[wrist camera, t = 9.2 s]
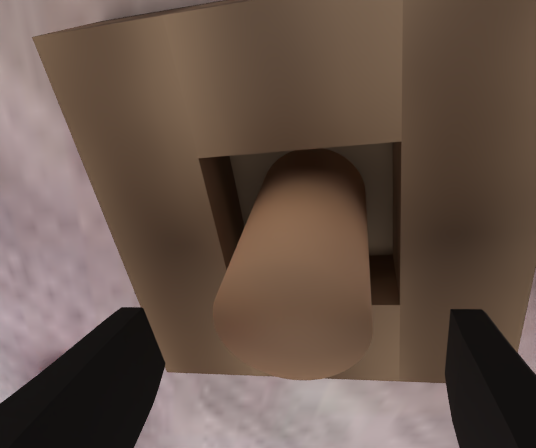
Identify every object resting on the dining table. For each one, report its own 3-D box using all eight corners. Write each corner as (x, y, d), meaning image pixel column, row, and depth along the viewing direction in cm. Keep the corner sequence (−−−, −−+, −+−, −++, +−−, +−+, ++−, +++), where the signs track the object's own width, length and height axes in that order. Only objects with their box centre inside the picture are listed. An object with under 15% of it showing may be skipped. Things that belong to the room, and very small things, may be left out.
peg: (384, 171, 15) (404, 301, 9) (339, 252, 17) (331, 398, 12) (282, 131, 15) (238, 237, 9) (249, 217, 17) (196, 347, 11)
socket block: (534, -53, 12) (605, -59, 9) (482, 311, 19) (510, 385, 16) (102, 21, 15) (31, 37, 12) (195, 310, 22) (167, 372, 19)
